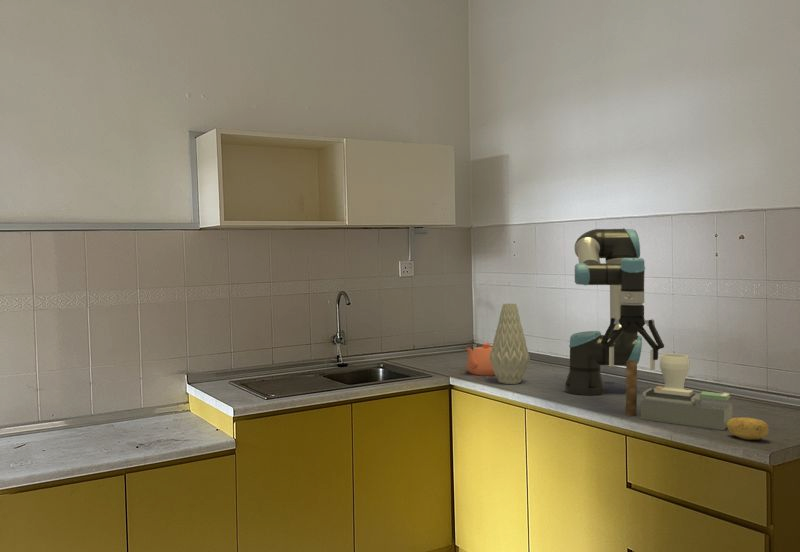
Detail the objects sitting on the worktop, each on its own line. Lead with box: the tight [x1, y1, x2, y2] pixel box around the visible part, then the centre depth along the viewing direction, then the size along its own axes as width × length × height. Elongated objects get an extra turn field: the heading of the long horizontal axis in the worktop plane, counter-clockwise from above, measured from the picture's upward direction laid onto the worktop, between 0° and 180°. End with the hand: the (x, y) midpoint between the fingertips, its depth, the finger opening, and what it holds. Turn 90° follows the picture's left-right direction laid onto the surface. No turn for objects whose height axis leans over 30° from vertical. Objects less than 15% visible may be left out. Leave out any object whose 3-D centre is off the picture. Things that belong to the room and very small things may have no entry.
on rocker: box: [699, 390, 731, 402], centre depth 224 cm, size 8×5×1 cm, turn 55°
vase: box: [489, 303, 531, 385], centre depth 295 cm, size 17×17×33 cm
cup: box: [659, 353, 691, 390], centre depth 270 cm, size 11×11×15 cm
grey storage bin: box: [640, 387, 733, 431], centre depth 229 cm, size 25×13×8 cm, turn 55°
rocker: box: [654, 385, 694, 396], centre depth 231 cm, size 11×4×1 cm, turn 55°
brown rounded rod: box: [625, 360, 638, 417], centre depth 237 cm, size 3×3×18 cm
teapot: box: [465, 342, 495, 377], centre depth 318 cm, size 25×17×13 cm
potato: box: [726, 417, 770, 441], centre depth 206 cm, size 7×11×6 cm, turn 41°
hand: (631, 368), depth 236 cm, fingers open, 13 cm apart
